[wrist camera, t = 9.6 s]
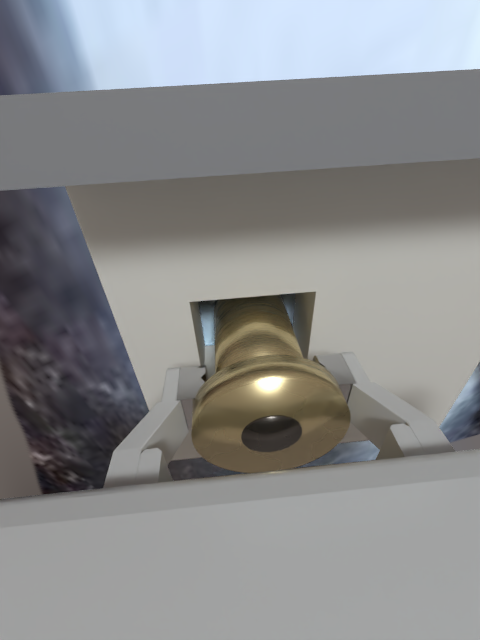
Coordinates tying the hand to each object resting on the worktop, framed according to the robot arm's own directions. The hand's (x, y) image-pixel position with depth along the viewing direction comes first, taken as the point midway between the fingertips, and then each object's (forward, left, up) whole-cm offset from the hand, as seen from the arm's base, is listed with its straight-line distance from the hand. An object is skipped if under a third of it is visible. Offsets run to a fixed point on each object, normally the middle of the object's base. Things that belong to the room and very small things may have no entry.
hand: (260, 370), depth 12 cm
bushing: (0, 0, -4) cm, 4 cm away
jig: (-3, 0, -5) cm, 5 cm away
